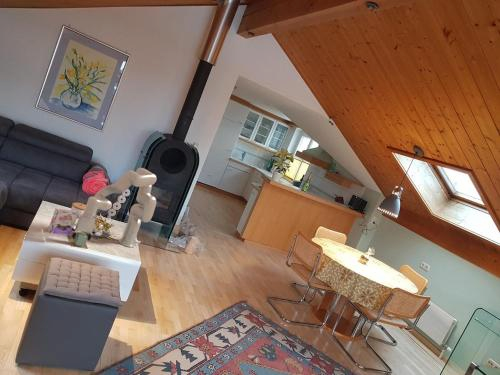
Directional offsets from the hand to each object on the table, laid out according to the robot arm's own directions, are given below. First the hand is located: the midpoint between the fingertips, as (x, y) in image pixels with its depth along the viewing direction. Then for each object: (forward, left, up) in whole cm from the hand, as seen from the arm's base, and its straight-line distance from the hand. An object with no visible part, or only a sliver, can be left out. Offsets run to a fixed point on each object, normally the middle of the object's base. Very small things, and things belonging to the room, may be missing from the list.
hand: (80, 238), depth 256 cm
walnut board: (0, -5, -5) cm, 7 cm away
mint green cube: (0, 0, -4) cm, 4 cm away
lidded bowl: (-9, -56, -5) cm, 57 cm away
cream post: (0, 0, -4) cm, 4 cm away
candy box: (+10, -17, -5) cm, 20 cm away
